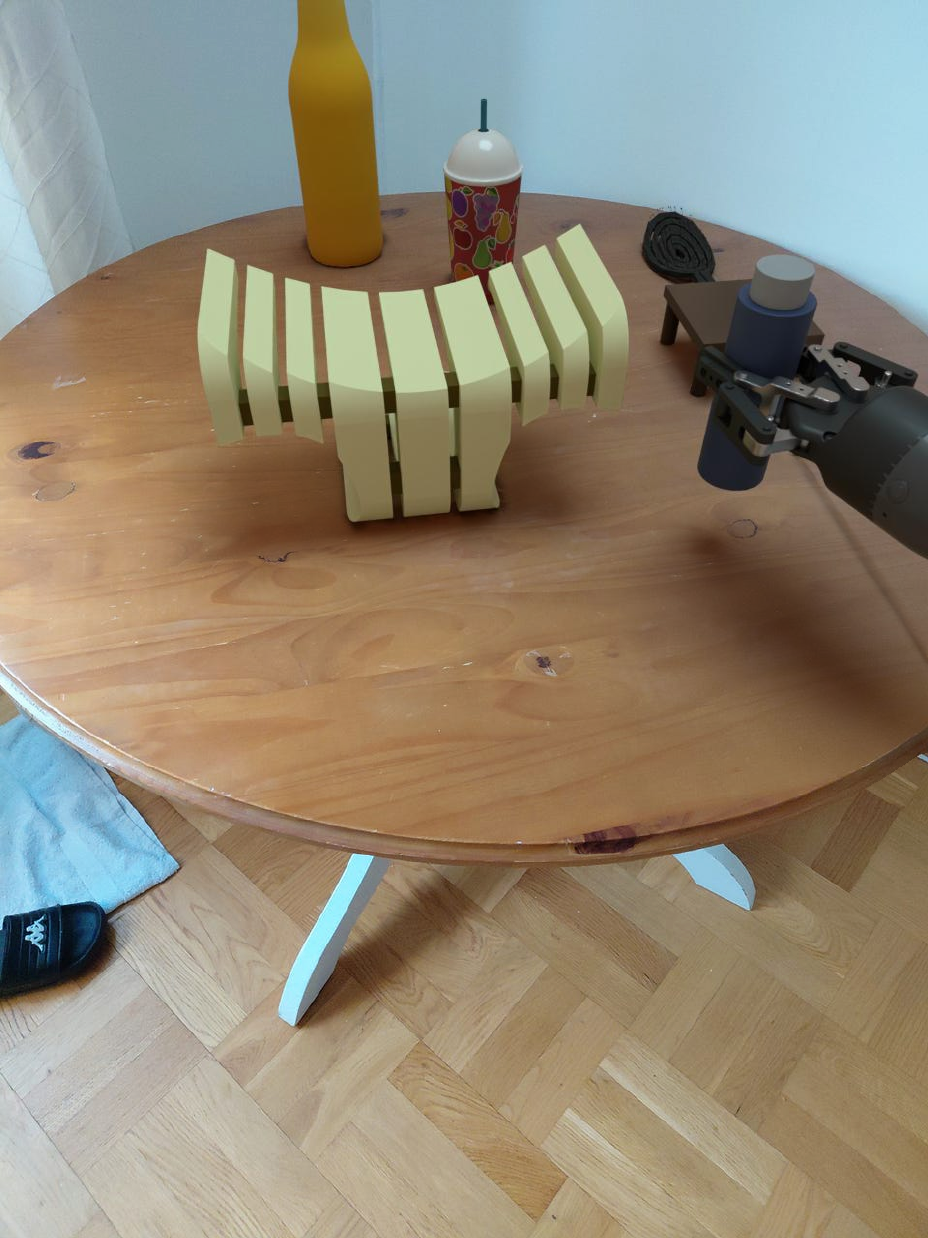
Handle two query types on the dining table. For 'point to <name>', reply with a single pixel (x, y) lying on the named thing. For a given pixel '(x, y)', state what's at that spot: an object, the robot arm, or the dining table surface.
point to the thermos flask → (761, 354)
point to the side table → (708, 318)
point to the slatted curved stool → (417, 371)
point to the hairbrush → (678, 248)
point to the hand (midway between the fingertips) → (733, 348)
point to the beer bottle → (334, 138)
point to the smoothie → (482, 202)
